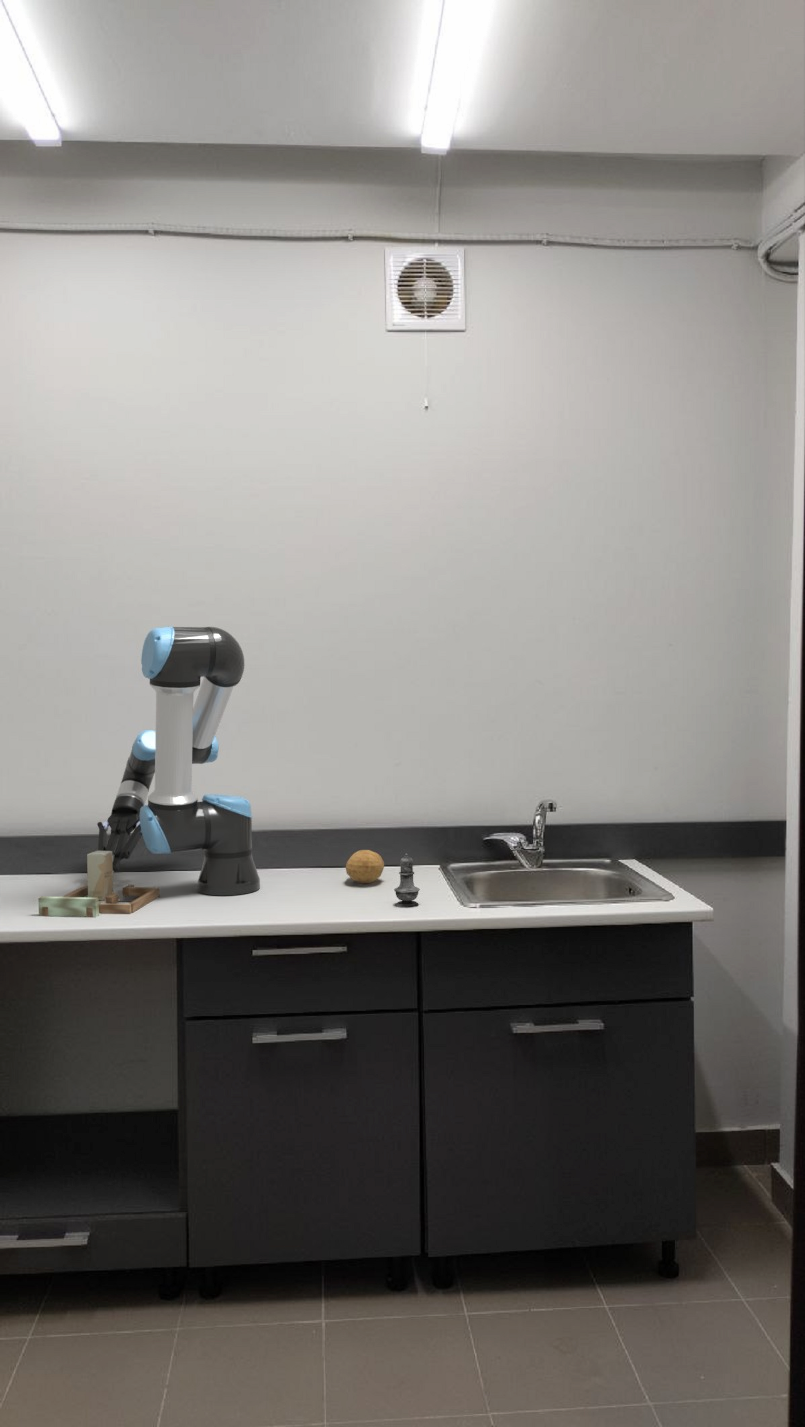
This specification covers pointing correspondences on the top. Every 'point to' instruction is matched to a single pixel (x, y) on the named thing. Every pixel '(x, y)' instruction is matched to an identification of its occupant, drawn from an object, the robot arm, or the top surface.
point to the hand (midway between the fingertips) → (105, 880)
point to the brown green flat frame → (96, 902)
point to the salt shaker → (406, 884)
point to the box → (100, 874)
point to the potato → (365, 866)
